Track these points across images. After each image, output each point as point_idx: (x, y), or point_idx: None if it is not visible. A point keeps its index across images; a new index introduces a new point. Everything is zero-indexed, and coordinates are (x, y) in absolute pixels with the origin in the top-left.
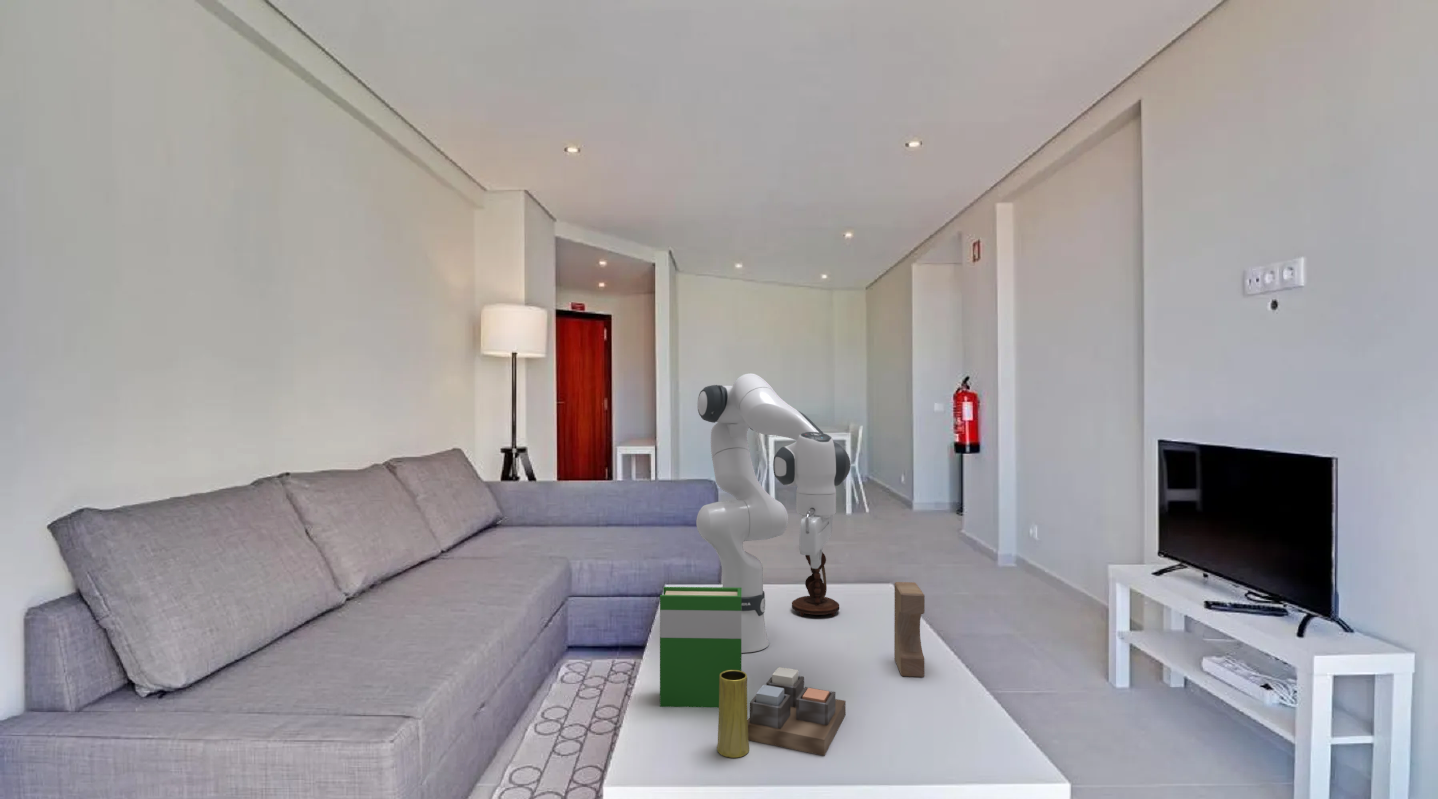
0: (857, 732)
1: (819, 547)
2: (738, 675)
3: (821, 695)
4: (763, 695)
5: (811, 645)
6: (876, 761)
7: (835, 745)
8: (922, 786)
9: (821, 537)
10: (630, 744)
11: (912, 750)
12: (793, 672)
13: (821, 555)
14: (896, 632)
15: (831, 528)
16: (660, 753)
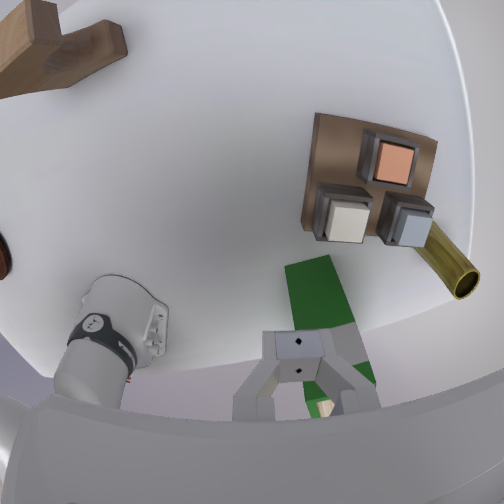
0: (364, 94)
1: (471, 402)
2: (454, 280)
3: (399, 155)
4: (426, 237)
5: (74, 221)
6: (425, 76)
7: (403, 123)
8: (452, 39)
9: (426, 466)
10: (411, 314)
11: (388, 29)
12: (347, 212)
13: (255, 369)
14: (52, 79)
15: (29, 440)
16: (426, 289)
